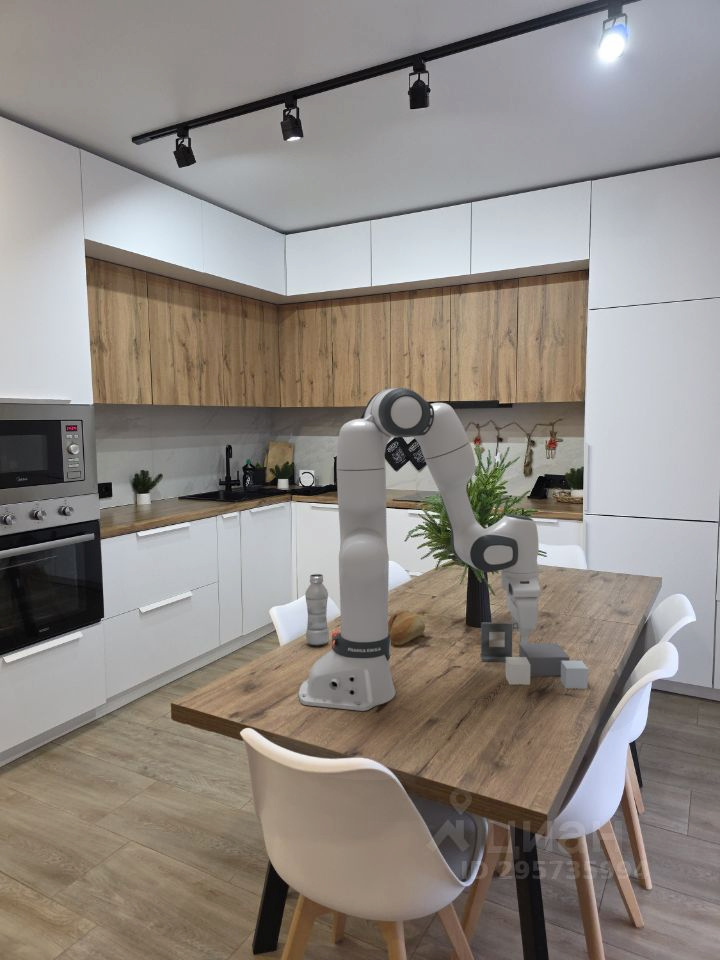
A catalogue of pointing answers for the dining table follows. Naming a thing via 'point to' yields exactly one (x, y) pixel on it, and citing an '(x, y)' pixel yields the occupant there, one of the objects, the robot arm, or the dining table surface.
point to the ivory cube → (518, 670)
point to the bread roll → (405, 627)
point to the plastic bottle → (317, 611)
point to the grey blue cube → (574, 674)
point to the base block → (543, 658)
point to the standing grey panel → (496, 642)
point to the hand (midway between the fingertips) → (520, 636)
